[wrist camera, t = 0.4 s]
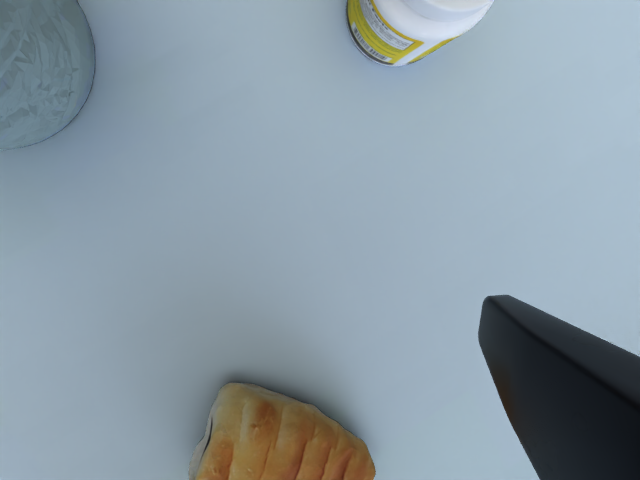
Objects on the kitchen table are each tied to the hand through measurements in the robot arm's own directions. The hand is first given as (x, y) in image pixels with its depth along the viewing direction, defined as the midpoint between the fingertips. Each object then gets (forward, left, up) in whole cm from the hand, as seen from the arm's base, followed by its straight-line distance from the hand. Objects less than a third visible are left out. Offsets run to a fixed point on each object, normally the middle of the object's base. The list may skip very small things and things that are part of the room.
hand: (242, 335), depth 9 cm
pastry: (-10, -8, -16) cm, 20 cm away
